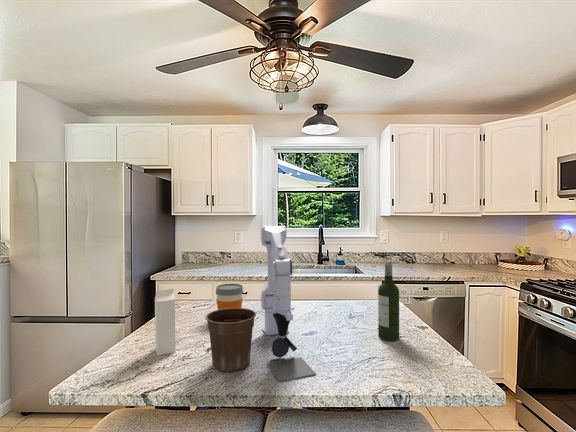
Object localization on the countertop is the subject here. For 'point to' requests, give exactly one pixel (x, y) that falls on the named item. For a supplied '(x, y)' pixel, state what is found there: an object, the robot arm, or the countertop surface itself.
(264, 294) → the robot arm
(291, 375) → the mat
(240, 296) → the reusable coffee cup
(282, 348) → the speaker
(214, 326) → the plant pot
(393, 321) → the wine bottle
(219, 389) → the countertop surface
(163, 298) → the milk
